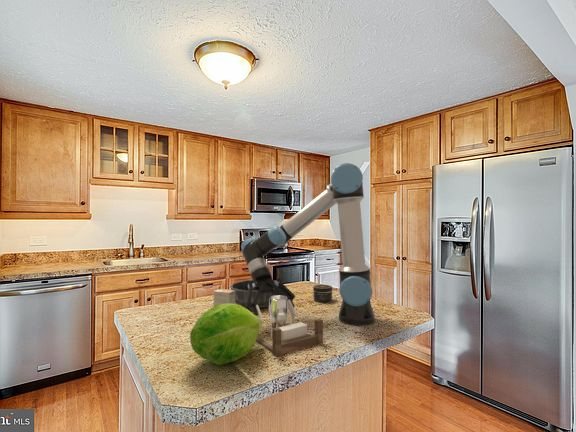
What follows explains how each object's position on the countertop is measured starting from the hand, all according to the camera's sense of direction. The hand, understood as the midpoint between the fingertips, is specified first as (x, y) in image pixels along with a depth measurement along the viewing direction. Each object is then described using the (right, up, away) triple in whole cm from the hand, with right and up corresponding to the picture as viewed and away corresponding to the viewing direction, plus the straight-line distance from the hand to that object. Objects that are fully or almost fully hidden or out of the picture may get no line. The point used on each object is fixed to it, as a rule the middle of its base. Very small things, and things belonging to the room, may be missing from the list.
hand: (278, 320), depth 113 cm
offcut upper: (+5, -3, -7) cm, 9 cm away
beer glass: (0, -7, +1) cm, 7 cm away
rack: (+2, -7, -2) cm, 7 cm away
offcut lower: (+5, -6, -7) cm, 10 cm away
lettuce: (-15, -7, -16) cm, 23 cm away
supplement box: (-23, -7, +20) cm, 32 cm away
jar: (+22, -7, +53) cm, 57 cm away
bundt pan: (-13, -8, +47) cm, 49 cm away
